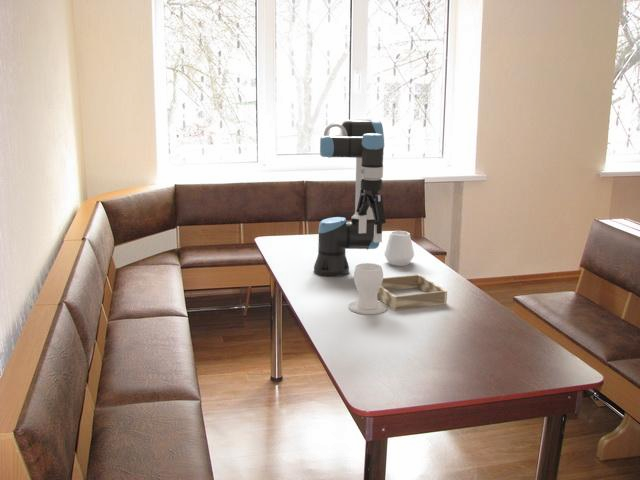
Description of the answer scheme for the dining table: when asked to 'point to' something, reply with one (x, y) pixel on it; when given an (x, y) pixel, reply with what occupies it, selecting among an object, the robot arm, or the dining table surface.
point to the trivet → (378, 310)
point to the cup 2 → (399, 248)
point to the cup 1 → (368, 284)
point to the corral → (430, 298)
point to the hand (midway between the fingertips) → (369, 237)
